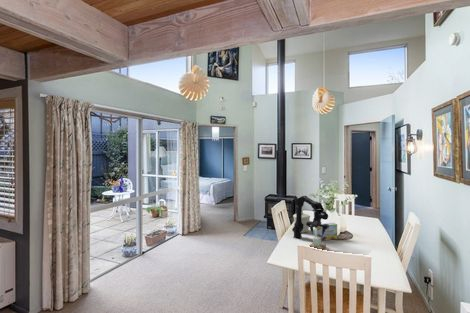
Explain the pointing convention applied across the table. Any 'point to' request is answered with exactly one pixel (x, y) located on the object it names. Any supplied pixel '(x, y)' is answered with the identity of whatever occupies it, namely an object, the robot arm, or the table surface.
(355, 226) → the table surface
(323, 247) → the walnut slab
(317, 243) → the sage box
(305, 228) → the canister
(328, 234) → the snack box
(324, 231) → the robot arm
